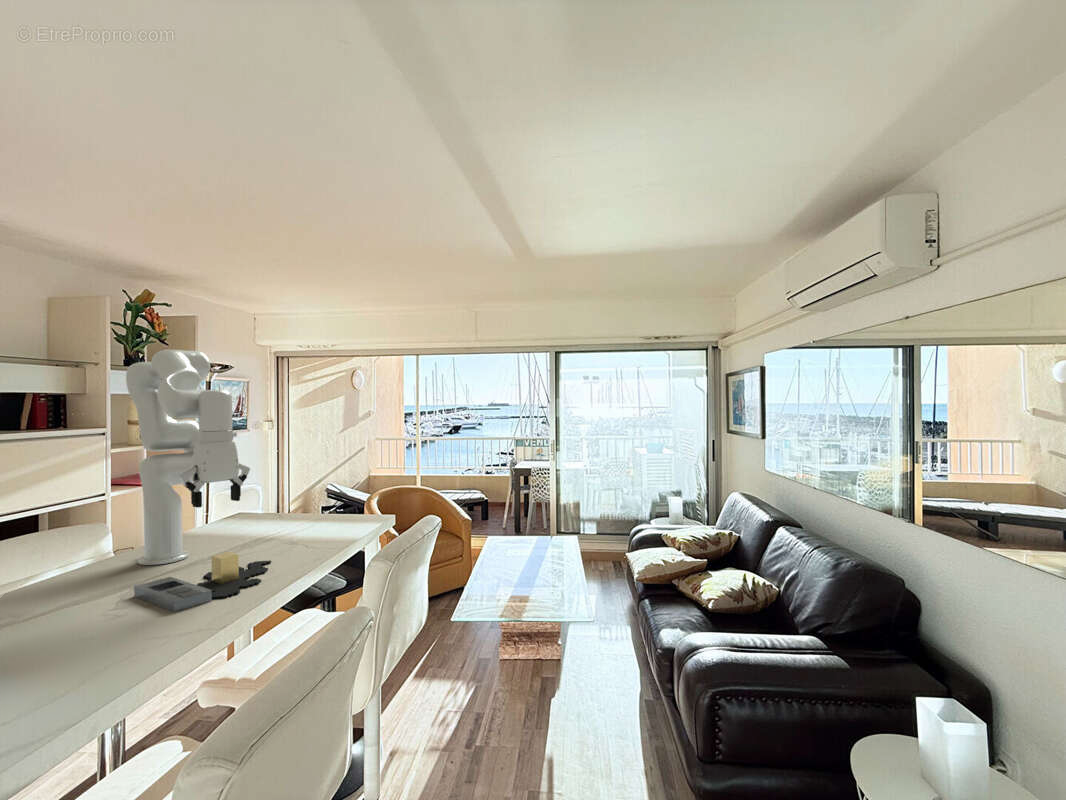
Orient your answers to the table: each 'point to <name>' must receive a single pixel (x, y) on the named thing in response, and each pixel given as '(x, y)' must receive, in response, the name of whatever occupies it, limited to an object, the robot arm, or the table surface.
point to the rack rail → (173, 594)
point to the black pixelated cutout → (235, 581)
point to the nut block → (225, 567)
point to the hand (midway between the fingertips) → (216, 503)
